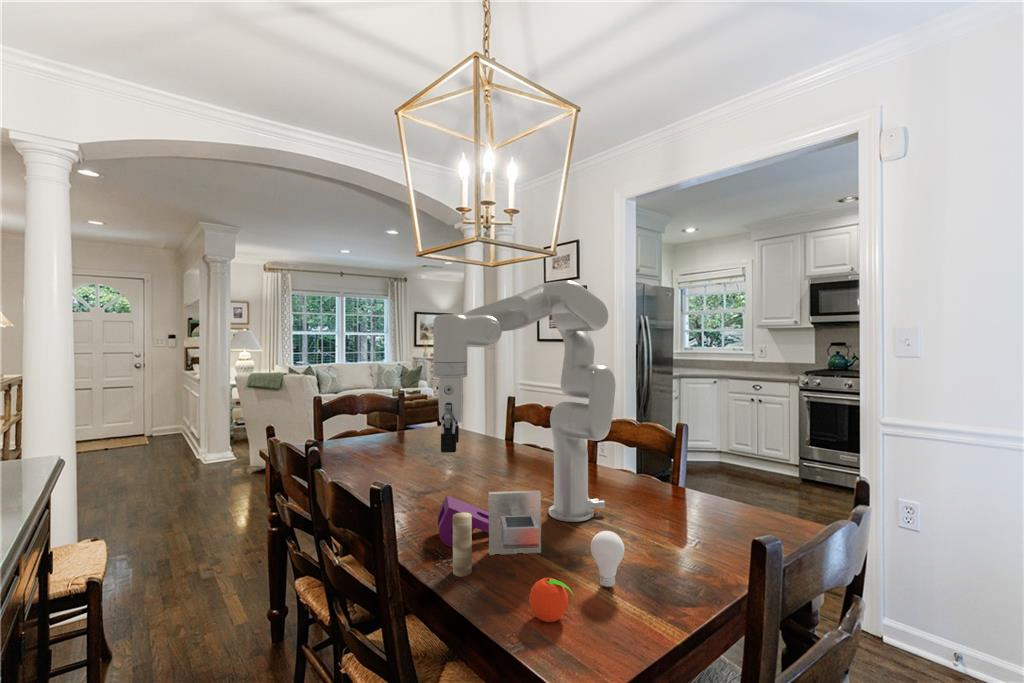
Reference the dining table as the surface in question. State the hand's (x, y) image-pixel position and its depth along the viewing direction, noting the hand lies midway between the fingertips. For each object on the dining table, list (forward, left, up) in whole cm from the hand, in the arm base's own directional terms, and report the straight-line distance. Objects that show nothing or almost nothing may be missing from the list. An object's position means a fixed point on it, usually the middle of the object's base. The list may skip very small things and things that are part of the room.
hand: (450, 447), depth 108 cm
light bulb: (-32, +14, -26) cm, 43 cm away
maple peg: (-3, +5, -26) cm, 26 cm away
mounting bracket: (-6, -13, -26) cm, 30 cm away
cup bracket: (-15, +3, -26) cm, 30 cm away
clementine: (-19, +24, -26) cm, 40 cm away
